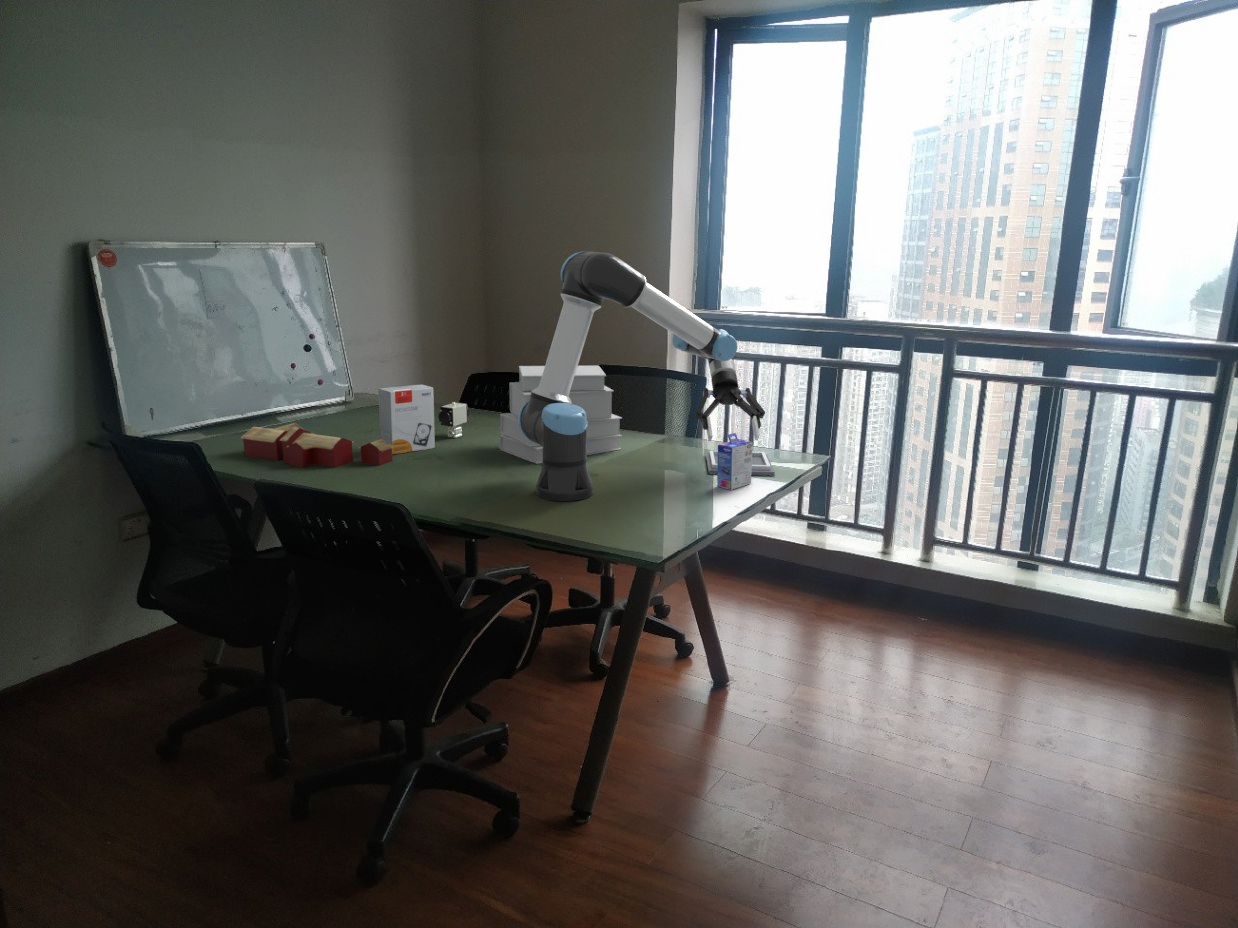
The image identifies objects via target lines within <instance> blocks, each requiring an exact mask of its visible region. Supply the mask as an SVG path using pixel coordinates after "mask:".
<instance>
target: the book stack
mask: <svg viewBox="0 0 1238 928" xmlns="http://www.w3.org/2000/svg"><path fill="white" fill-rule="evenodd" d="M544 368H545V365H519V366H518V373H519V374H518V375H519V381H515V382H512V381H511V382H509V411H510V412H506V413H500V416H499V417H500V419H499V420H500V435H499V437H498V438H499V450H500V451H502V452H505V453H508V454H509V455H512V456H514V457H517V458H519V459H522V460H525V461H527V462H530V463H533V464H536V465H539V464H543V446H541V445H539V444H537V443H535V442H532V441H531V440H529V439H528V438H527V437H526V436H525V435H524V434H523V433H522V431H521V430H520V427H519V424H518V414H519V411H520V409H521V407H522V406H523V404H524V403H526V402H527V401H529V399H530V395H531V392H532V390H534V389H536V388H537V387H539V385H540V381H541V378H542V375H543V371H544ZM605 377H607V375H606V373H605V372H604V370H603V369H602V368H601V367H600V365H578V366H577V370H576V373H575V376H574V379H573V383H572V386H571V389H570V393H569V398H570V400H571V402H572V405H577V406H579V407H581V408H582V409H584V411H585V412H586V417H587V455H586V456H591V455H597V454H602V453H609V452H615V451H621V450H622V448H621V447H620V437H622V436H623V435H622V434H620V432H621V430H620V428H621V427H620V425H621V423H620V421H621V419H623V417H622V416H619V415H617V414H613V413H612V410H613V409H612V406H613V405H612V404H613V403H612V401H613V399H612V398H613V394H612V393H614V392H615V390H614V389H611V387H609V386H606V385H605Z"/></svg>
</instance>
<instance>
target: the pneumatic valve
mask: <svg viewBox="0 0 1238 928" xmlns="http://www.w3.org/2000/svg"><path fill="white" fill-rule="evenodd" d="M439 411H440V412H438V422H440V426H446V427H447V430H448V431H447V437H448V438H454V439H457V438H460V437H462V436H463V434H462V432H463V430H462V428H463V427H462V426H461V425H462V424H465V423H468V422H469V418H468V417H469V416H470V409H469V407H468V403H463V402H456V401H452V402H451V403H449V404H445V405H443V406H440V408H439Z"/></svg>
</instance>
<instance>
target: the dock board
mask: <svg viewBox="0 0 1238 928" xmlns="http://www.w3.org/2000/svg"><path fill="white" fill-rule="evenodd" d="M705 458H706V465H707V471H708V475H717V468H718V450H709V452H706V453H705ZM775 474H776V473H775V470H774V468H773V465H772V462H771V461H770V459H769V456H768V454H766V451H752V474H751V475H769V476H768V477H775V476H776V475H775Z"/></svg>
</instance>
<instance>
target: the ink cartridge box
mask: <svg viewBox="0 0 1238 928" xmlns="http://www.w3.org/2000/svg"><path fill="white" fill-rule="evenodd" d="M732 437H735V438H732ZM727 438H728V441H726V442H724V443H723V442H722V443H720V444H718V445H717V451H718V468H717V474H716V475H717V479H716V483H717V484H716V486H717V487H718V488H722V489H726V490H729V491H731V490H735V489H738V488H741V487H745V486H746V485H750V484H751V483H752V476H751V474H752V452H753V441H751V440H745V439H741V438H738V435H737V433H736V432H734V433H730V434H727ZM731 438H732V439H731Z"/></svg>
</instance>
